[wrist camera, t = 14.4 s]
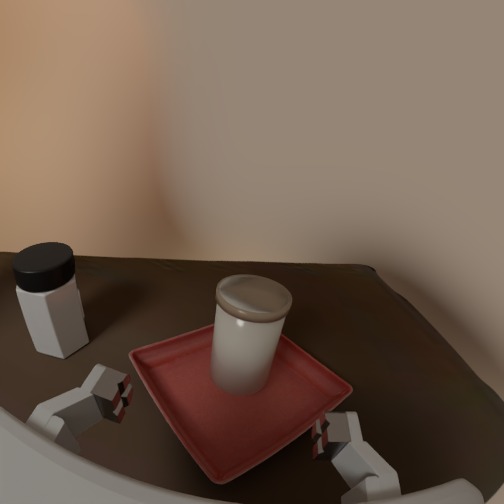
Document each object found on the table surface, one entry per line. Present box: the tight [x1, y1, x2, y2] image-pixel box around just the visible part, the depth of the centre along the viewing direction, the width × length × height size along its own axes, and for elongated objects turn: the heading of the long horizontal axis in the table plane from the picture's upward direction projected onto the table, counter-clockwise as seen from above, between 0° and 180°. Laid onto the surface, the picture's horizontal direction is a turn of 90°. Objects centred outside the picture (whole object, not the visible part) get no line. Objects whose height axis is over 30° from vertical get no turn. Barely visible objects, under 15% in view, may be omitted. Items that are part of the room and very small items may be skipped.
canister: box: [209, 274, 292, 395], centre depth 25 cm, size 6×6×10 cm
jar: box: [12, 242, 89, 359], centre depth 27 cm, size 9×8×12 cm
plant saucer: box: [129, 324, 353, 484], centre depth 28 cm, size 18×18×3 cm
